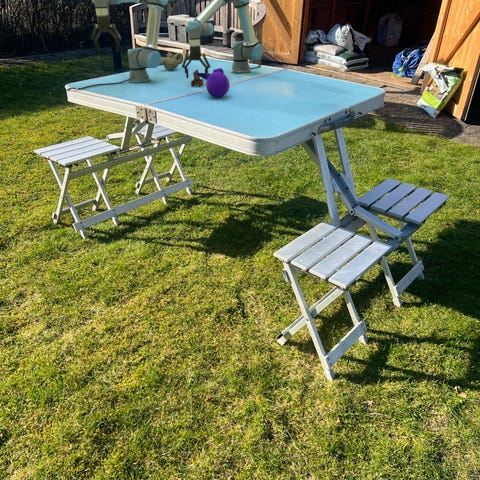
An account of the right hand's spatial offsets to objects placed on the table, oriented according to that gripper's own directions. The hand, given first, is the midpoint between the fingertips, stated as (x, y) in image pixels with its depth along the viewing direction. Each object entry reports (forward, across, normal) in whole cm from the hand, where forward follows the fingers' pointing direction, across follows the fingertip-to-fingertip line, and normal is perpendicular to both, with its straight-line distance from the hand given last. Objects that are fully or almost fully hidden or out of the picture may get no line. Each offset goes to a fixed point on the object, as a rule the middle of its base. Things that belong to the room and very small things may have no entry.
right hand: (196, 78), depth 319 cm
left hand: (-20, +52, +25) cm, 61 cm away
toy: (+5, -20, +30) cm, 36 cm away
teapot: (+5, +37, -59) cm, 70 cm away
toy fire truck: (+5, 0, 0) cm, 5 cm away
